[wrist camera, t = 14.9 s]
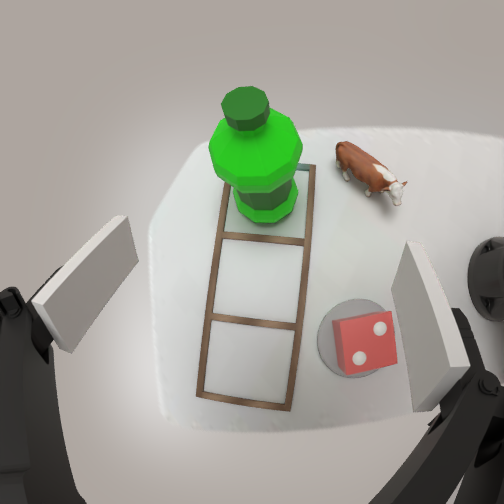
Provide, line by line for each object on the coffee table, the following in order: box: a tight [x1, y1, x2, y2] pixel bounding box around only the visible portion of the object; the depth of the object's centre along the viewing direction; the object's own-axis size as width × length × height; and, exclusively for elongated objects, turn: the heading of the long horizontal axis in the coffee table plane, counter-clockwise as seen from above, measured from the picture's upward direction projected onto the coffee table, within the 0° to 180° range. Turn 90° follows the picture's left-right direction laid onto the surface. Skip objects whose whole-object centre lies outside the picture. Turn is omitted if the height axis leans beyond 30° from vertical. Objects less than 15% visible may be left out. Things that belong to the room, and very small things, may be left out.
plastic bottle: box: [208, 86, 303, 223], centre depth 36 cm, size 10×10×25 cm
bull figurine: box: [336, 141, 407, 206], centre depth 43 cm, size 4×13×8 cm, turn 42°
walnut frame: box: [196, 163, 316, 412], centre depth 46 cm, size 15×40×1 cm, turn 173°
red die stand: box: [317, 299, 397, 378], centre depth 38 cm, size 12×12×9 cm
